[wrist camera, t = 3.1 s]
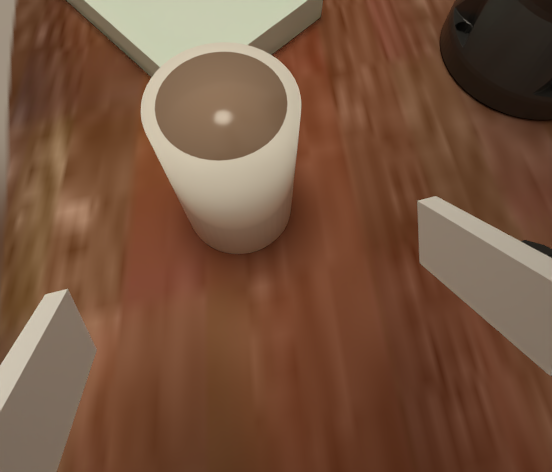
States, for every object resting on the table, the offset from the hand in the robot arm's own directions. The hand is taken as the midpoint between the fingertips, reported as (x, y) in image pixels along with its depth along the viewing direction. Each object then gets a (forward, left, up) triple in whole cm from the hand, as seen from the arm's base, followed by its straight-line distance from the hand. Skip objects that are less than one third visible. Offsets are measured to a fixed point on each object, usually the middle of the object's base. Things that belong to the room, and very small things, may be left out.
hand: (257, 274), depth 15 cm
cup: (-5, -8, -14) cm, 17 cm away
